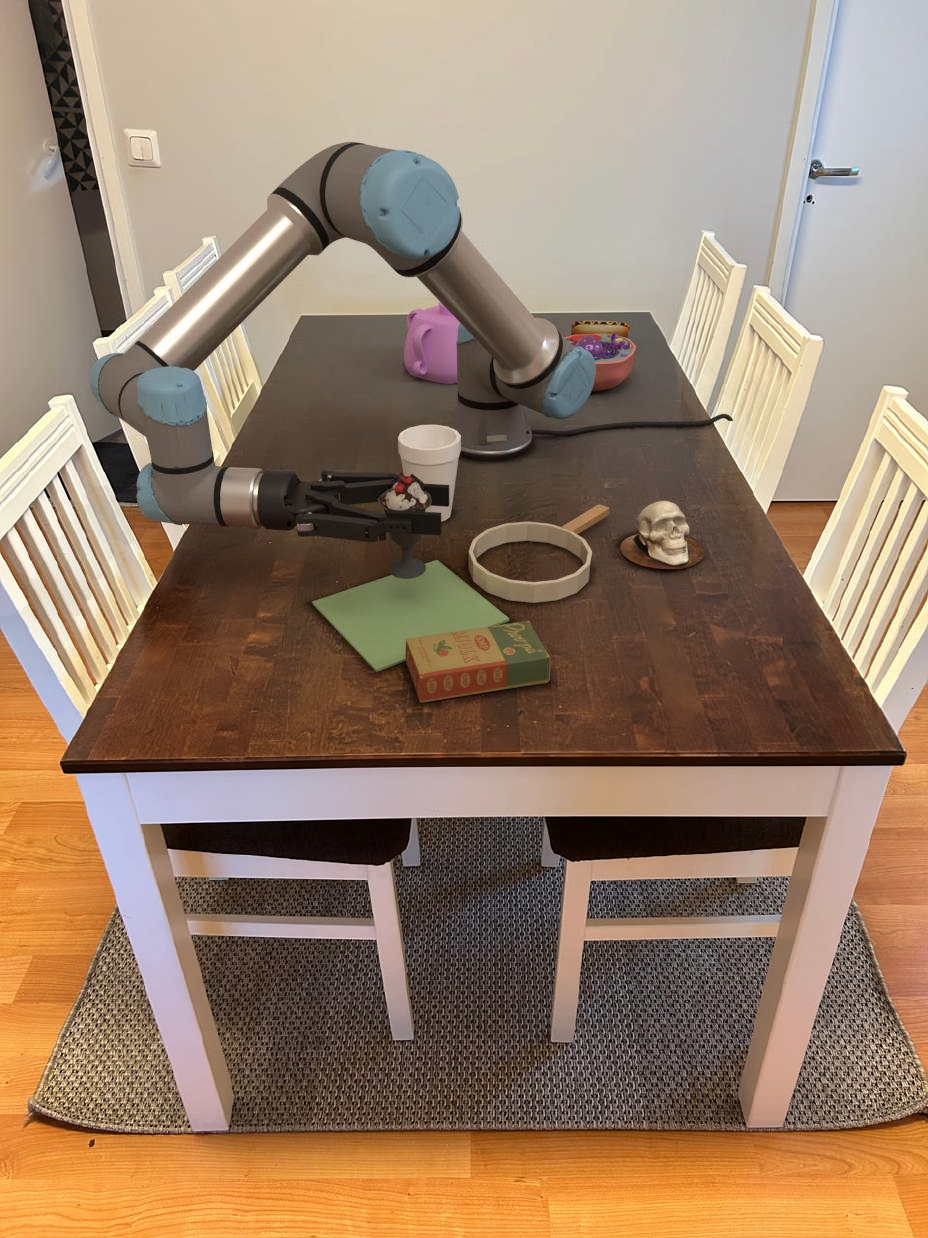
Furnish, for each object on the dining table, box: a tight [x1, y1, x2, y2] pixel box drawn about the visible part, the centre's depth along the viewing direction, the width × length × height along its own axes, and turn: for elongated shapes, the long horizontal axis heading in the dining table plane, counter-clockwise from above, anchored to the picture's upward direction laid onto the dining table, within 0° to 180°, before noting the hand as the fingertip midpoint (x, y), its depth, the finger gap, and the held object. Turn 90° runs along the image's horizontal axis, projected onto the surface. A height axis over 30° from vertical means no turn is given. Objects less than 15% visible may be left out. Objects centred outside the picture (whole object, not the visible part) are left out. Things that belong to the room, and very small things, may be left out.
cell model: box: [563, 334, 637, 392], centre depth 189 cm, size 17×20×11 cm
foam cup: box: [397, 424, 461, 523], centre depth 143 cm, size 10×9×13 cm
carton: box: [405, 620, 551, 704], centre depth 112 cm, size 8×16×4 cm, turn 105°
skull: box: [619, 500, 705, 570], centre depth 136 cm, size 12×10×10 cm
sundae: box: [377, 469, 432, 579], centre depth 116 cm, size 7×7×15 cm
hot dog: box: [570, 319, 631, 338], centre depth 214 cm, size 5×13×5 cm, turn 84°
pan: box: [468, 503, 610, 604], centre depth 134 cm, size 26×17×3 cm, turn 123°
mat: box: [311, 559, 510, 673], centre depth 124 cm, size 20×18×1 cm
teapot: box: [403, 301, 460, 385], centre depth 197 cm, size 19×21×14 cm
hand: (444, 509), depth 115 cm, fingers closed on sundae, 7 cm apart
